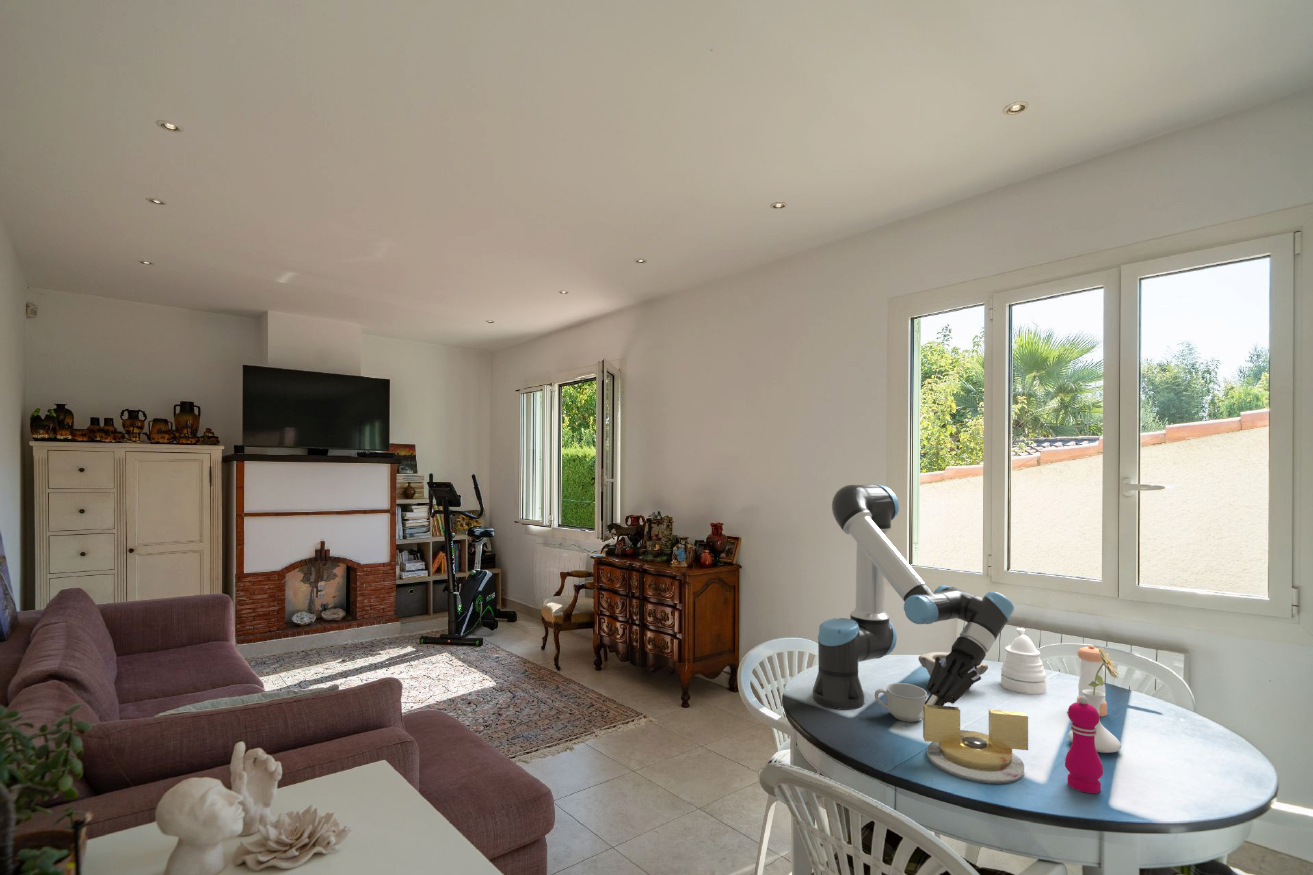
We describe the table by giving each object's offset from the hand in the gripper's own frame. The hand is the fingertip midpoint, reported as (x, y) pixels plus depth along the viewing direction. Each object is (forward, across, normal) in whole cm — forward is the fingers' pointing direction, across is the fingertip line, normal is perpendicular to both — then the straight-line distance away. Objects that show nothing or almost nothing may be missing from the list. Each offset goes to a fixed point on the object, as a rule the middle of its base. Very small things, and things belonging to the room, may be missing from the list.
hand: (923, 719), depth 166 cm
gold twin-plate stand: (-1, -8, -10) cm, 13 cm away
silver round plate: (0, -8, -11) cm, 14 cm away
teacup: (-3, +21, -15) cm, 26 cm away
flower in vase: (-25, -14, -38) cm, 47 cm away
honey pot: (-42, +25, -55) cm, 73 cm away
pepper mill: (-9, -26, -21) cm, 35 cm away
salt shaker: (-42, +2, -54) cm, 68 cm away
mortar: (-27, +34, -39) cm, 58 cm away
